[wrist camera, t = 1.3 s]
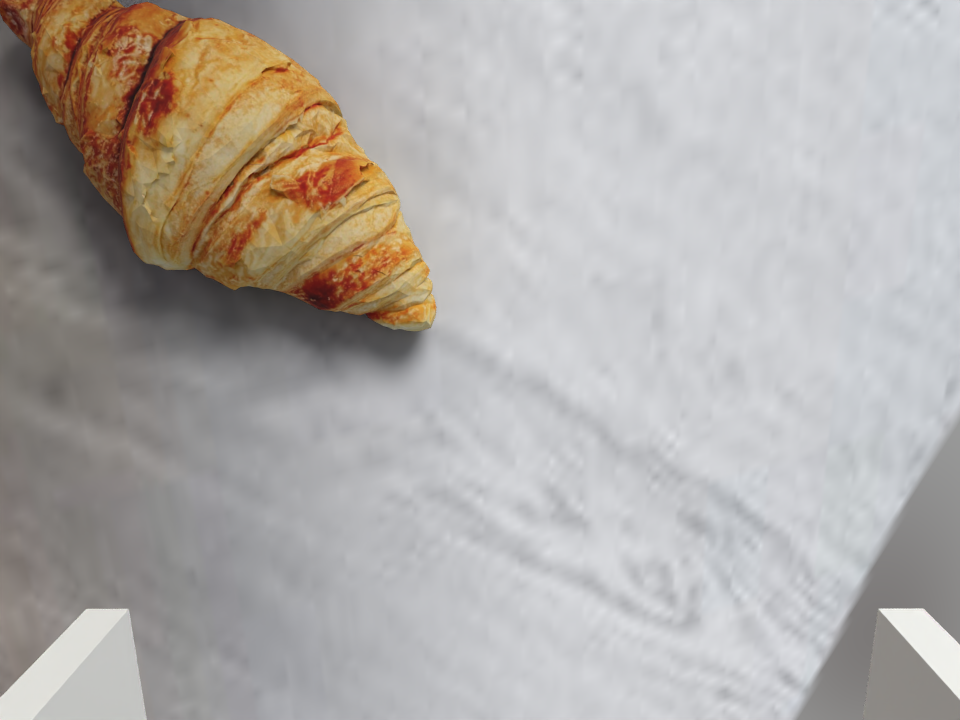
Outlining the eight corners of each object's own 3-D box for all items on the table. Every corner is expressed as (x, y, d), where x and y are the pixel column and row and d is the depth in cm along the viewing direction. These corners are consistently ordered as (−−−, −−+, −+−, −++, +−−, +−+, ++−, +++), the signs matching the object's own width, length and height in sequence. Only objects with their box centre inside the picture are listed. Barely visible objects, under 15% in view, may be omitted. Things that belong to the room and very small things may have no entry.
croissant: (457, 279, 36) (532, 196, 29) (351, 431, 31) (412, 372, 24) (101, 3, 33) (92, -162, 26) (-85, 120, 27) (-157, -48, 21)
